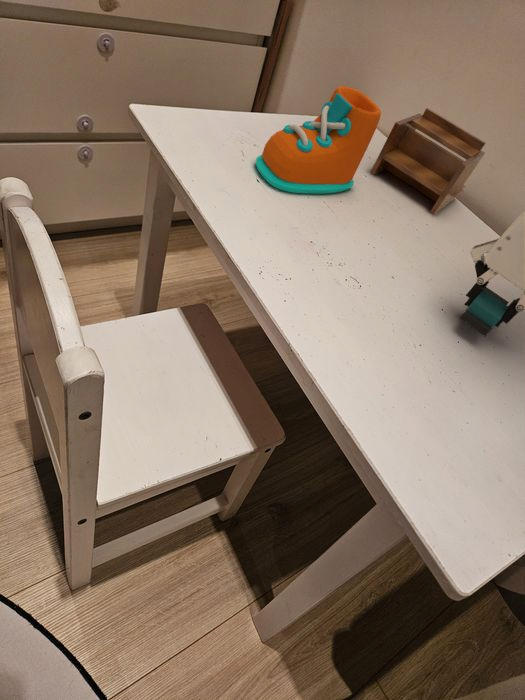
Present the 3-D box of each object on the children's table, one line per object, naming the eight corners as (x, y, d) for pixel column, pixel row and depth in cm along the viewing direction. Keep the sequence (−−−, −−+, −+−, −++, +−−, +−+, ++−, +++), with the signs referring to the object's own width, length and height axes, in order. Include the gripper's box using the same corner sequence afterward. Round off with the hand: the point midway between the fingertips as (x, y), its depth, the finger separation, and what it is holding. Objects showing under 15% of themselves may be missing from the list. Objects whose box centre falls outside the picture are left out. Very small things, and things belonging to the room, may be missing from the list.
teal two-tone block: (480, 291, 75) (492, 277, 72) (504, 307, 73) (516, 294, 71) (459, 318, 68) (471, 304, 66) (484, 336, 67) (498, 322, 65)
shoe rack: (453, 200, 101) (490, 145, 92) (432, 215, 93) (471, 158, 84) (393, 161, 105) (423, 105, 95) (369, 173, 97) (399, 114, 88)
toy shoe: (244, 158, 86) (268, 72, 75) (327, 160, 95) (359, 84, 84) (273, 197, 80) (304, 111, 69) (359, 195, 89) (397, 119, 78)
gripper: (642, 239, 58) (538, 334, 71) (522, 169, 62) (445, 271, 75) (636, 261, 53) (525, 358, 66) (506, 183, 57) (427, 289, 70)
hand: (483, 311), depth 71 cm, fingers closed on teal two-tone block, 4 cm apart
